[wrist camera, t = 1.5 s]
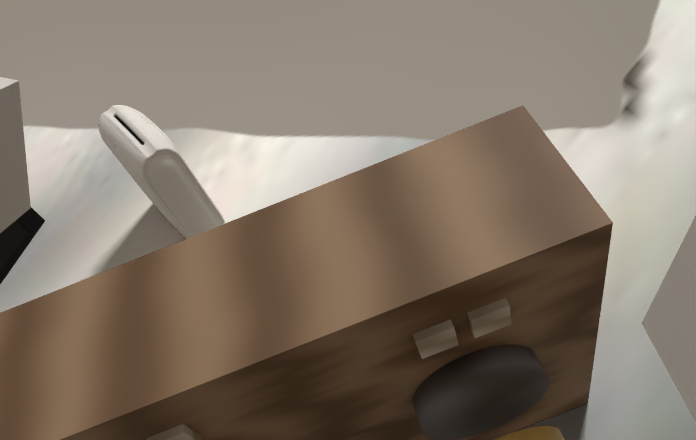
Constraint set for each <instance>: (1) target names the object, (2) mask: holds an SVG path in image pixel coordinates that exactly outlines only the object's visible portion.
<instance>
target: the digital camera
mask: <svg viewBox="0 0 696 440" xmlns="http://www.w3.org/2000/svg"><path fill="white" fill-rule="evenodd" d="M44 221H45V220H44V219H43V218H42V217H41V216H40V215H39V214H38V213H37V212H36V211H34V210H33V209H32V208H30V209H29V210H27V211H26V212H25V213H24V214H23V215H22V216H20V217H19V218H18V219H17V220H16V221H14V222H13V223H12V224H11V225H10V226H8V227H7V228H6V229H5V230H4V231H2V232H1V233H0V284H1V283H2V281H3V280H4V278H5V277H6V275H7V274H8V273H9V271H10V270H11V268H12V267H13V265H14V264H15V263H16V261H17V260H18V258H19V257H20V255H21V254H22V253H23V251H24V250H25V248H26V247H27V245H28V244H29V243H30V241H31V240H32V238H33V237H34V235H35V234H36V233H37V231H38V230H39V228H40V227H41V226H42V224H43V223H44Z"/></svg>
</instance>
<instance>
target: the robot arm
mask: <svg viewBox="0 0 696 440" xmlns="http://www.w3.org/2000/svg"><path fill="white" fill-rule="evenodd" d="M30 208H31V206H30V196H29V185H28V175H27V164H26V153H25V143H24V132H23V122H22V111H21V100H20V90H19V81H18V80H12V79H7V78H2V77H0V233H1V232H2V231H4V230H5V229H6V228H7V227H8V226H10V225H11V224H12V223H13V222H14V221H16V220H17V219H18V218H19V217H20V216H22V215H23V214H24V213H25V212H26V211H27V210H29V209H30ZM642 324H643V326H644V328H645V330H646V332H647V334H648V335H649V337H650V339H651V341H652V343H653V345H654V346H655V348H656V350H657V352H658V354H659V356H660V357H661V359H662V361H663V363H664V365H665V367H666V368H667V370H668V372H669V374H670V376H671V378H672V380H673V381H674V383H675V385H676V387H677V389H678V391H679V392H680V394H681V396H682V398H683V400H684V402H685V403H686V405H687V407H688V409H689V411H690V413H691V414H692V416H693V418H694V420H695V422H696V216H695V218H694V220H693V222H692V224H691V226H690V228H689V230H688V232H687V234H686V236H685V238H684V240H683V242H682V244H681V246H680V248H679V250H678V252H677V254H676V256H675V258H674V260H673V262H672V264H671V266H670V268H669V270H668V272H667V274H666V276H665V278H664V280H663V282H662V284H661V286H660V288H659V290H658V292H657V294H656V296H655V298H654V300H653V302H652V304H651V306H650V308H649V310H648V312H647V314H646V316H645V318H644V320H643V322H642Z"/></svg>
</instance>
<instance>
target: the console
mask: <svg viewBox="0 0 696 440" xmlns="http://www.w3.org/2000/svg"><path fill="white" fill-rule="evenodd" d="M612 225H613V222H612V221H611V220H610V218H609V217H608V216H607V214H606V213H605V212H604V211H603V209H602V208H601V207H600V205H599V204H598V203H597V201H596V200H595V199H594V198H593V196H592V195H591V194H590V192H589V191H588V190H587V188H586V187H585V186H584V184H583V183H582V182H581V181H580V179H579V178H578V177H577V175H576V174H575V173H574V171H573V170H572V169H571V167H570V166H569V165H568V164H567V162H566V161H565V160H564V158H563V157H562V156H561V154H560V153H559V152H558V150H557V149H556V148H555V147H554V145H553V144H552V143H551V141H550V140H549V139H548V137H547V136H546V135H545V133H544V132H543V131H542V130H541V128H540V127H539V126H538V124H537V123H536V122H535V121H534V119H533V118H532V117H531V115H530V114H529V113H528V112H527V110H526V109H525V107H524V106H520V107H518V108H515V109H513V110H510V111H508V112H505V113H503V114H500V115H498V116H495V117H493V118H490V119H488V120H485V121H483V122H480V123H478V124H475V125H473V126H470V127H467V128H465V129H463V130H460V131H457V132H455V133H452V134H450V135H447V136H445V137H442V138H440V139H437V140H435V141H432V142H430V143H427V144H425V145H422V146H420V147H417V148H415V149H412V150H410V151H407V152H404V153H402V154H399V155H397V156H394V157H392V158H389V159H387V160H384V161H382V162H379V163H377V164H374V165H372V166H369V167H367V168H364V169H362V170H359V171H357V172H354V173H352V174H349V175H347V176H344V177H342V178H339V179H336V180H334V181H331V182H329V183H326V184H324V185H321V186H319V187H316V188H314V189H311V190H309V191H306V192H304V193H301V194H299V195H296V196H294V197H291V198H289V199H286V200H284V201H281V202H279V203H276V204H274V205H271V206H268V207H266V208H263V209H261V210H258V211H256V212H253V213H251V214H248V215H246V216H243V217H241V218H238V219H236V220H233V221H231V222H228V223H226V224H223V225H221V226H218V227H216V228H213V229H211V230H208V231H205V232H203V233H200V234H198V235H195V236H193V237H190V238H188V239H185V240H183V241H180V242H178V243H175V244H173V245H170V246H168V247H165V248H163V249H160V250H158V251H155V252H153V253H150V254H148V255H145V256H143V257H140V258H137V259H135V260H132V261H130V262H127V263H125V264H122V265H120V266H117V267H115V268H112V269H110V270H107V271H105V272H102V273H100V274H97V275H95V276H92V277H90V278H87V279H85V280H82V281H80V282H77V283H75V284H72V285H69V286H67V287H64V288H62V289H59V290H57V291H54V292H52V293H49V294H47V295H44V296H42V297H39V298H37V299H34V300H32V301H29V302H27V303H24V304H22V305H19V306H17V307H14V308H12V309H9V310H6V311H4V312H1V313H0V440H493V439H496V438H498V437H501V436H503V435H506V434H509V433H511V432H514V431H516V430H519V429H521V428H524V427H527V426H529V425H532V424H534V423H537V422H539V421H542V420H545V419H547V418H550V417H552V416H555V415H558V414H560V413H563V412H565V411H568V410H570V409H573V408H576V407H578V406H581V405H583V404H586V403H588V398H589V390H590V383H591V376H592V369H593V362H594V354H595V347H596V340H597V333H598V326H599V318H600V311H601V304H602V297H603V289H604V282H605V275H606V268H607V261H608V253H609V246H610V239H611V232H612Z"/></svg>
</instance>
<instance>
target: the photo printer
mask: <svg viewBox="0 0 696 440" xmlns="http://www.w3.org/2000/svg"><path fill="white" fill-rule="evenodd" d="M99 131H100V135H101V137H102V139H103V141H104V142H105V144H106V145H107V146H108V147H109V149H110V150H111V151H112V152H113V154H114V155H115V156H116V157H117V159H118V160H119V161H120V163H121V164H122V165H123V166H124V168H125V169H126V170H127V171H128V173H129V174H130V175H131V176H132V178H133V179H134V180H135V182H136V183H137V184H138V185H139V187H140V188H141V189H142V190H143V192H144V193H145V194H146V195H147V196H148V198H149V199H150V200H151V201H152V202H153V204H154V205H155V206H156V207H157V208H158V210H159V211H160V212H161V213H162V214H163V215H164V216H165V218H166V219H167V220H168V221H169V222H170V223H171V224H172V225H173V226H174V227H175V228H176V229H177V230H178V231H179V232H180V233H181V234H182V235H183V236H184V237H185V238H186V239H188V238H190V237H193V236H195V235H198V234H200V233H203V232H205V231H208V230H211V229H213V228H216V227H218V226H221V225H223V224H224V223H225V221H224V219H223V217H222V215H221V213H220V211H219V210H218V208H217V207H216V206H215V204H214V203H213V201H212V200H211V198H210V197H209V196H208V194H207V193H206V191H205V190H204V188H203V187H202V185H201V184H200V182H199V181H198V179H197V178H196V176H195V175H194V174H193V172H192V171H191V169H190V168H189V166H188V165H187V163H186V162H185V160H184V159H183V157H182V156H181V154H180V153H179V151H178V150H177V148H176V147H175V145H174V144H173V143H172V142H171V141H170V139H169V138H168V137H167V136H166V135H165V134H164V133H163V132H162V131H161V130H160V129H159V128H158V127H157V126H156V125H155V124H154V123H153V122H152V121H150V120H149V119H148V118H147V117H146V116H145V115H143V114H142V113H141V112H139V111H137V110H135V109H133V108H131V107H128V106H123V105H114V106H112V107H111V108H110V109H109V110H108V111H106V112H104V113H102V115H101V117H100V120H99Z"/></svg>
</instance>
